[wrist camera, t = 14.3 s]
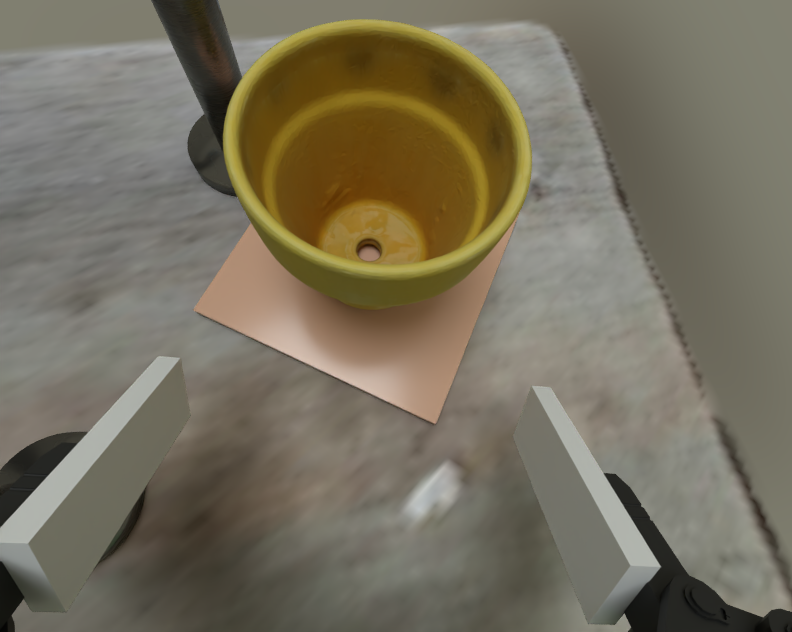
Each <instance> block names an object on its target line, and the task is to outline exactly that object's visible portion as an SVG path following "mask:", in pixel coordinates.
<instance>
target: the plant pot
mask: <svg viewBox="0 0 792 632" xmlns="http://www.w3.org/2000/svg"><path fill="white" fill-rule="evenodd" d="M223 151H224V158H225V164H226V168H227V171H228V175H229V178H230V180H231V183H232V186H233V188H234V191H235V193H236V195H237V197H238V199H239V201H240V203H241V205H242V207H243V209H244V210H245V212H246V214H247V216H248V218H249V220H250V221H251V223H252V225H253V227H254V228H255V230H256V232H257V233H258V235H259V236H260V238H261V240H262V241H263V243H264V244H265V246H266V247H267V248H268V250H269V251H270V252H271V254H272V255H273V256H274V257H275V259H276V260H277V261H278V262H279V263H280V264H281V265H282V266H283V267H284V268H285V269H286V270H287V271H288V272H289V273H290V274H292V275H293V276H294V277H295V278H297V279H298V280H300V281H301V282H303V283H304V284H306V285H307V286H309V287H311V288H312V289H314V290H316V291H318V292H320V293H322V294H325V295H327V296H329V297H332V298H335V299H338V300H339V301H341V302H342V303H344V304H346V305H349V306H352V307H355V308H359V309H365V310H379V309H386V308H390V307H393V306H401V305H407V304H412V303H417V302H420V301H424V300H427V299H430V298H432V297H435V296H437V295H439V294H441V293H443V292H445V291H447V290H449V289H451V288H452V287H454V286H455V285H457V284H458V283H460V282H461V281H462V280H463V279H465V278H466V277H467V276H468V275H469V274H470V273H471V272H472V271H473V270H474V269H475V268H476V267H477V266H478V265H479V264H480V263H481V262H482V261H483V260H484V259H485V258H486V256H487V255H488V254H489V253H490V252H491V251H492V250H493V248H494V247H495V246H496V245H497V243H498V242H499V241H500V240H501V238H502V237H503V236H504V234H505V233H506V232H507V230H508V229H509V228H510V226H511V225H512V224H513V222H514V220H515V219H516V217H517V215H518V214H519V212H520V210H521V208H522V206H523V203H524V201H525V198H526V195H527V192H528V188H529V184H530V179H531V170H532V150H531V143H530V138H529V133H528V129H527V126H526V122H525V120H524V117H523V115H522V112H521V110H520V108H519V106H518V104H517V102H516V100H515V99H514V97H513V96H512V94H511V93H510V91H509V89H508V88H507V87H506V86H505V84H504V83H503V82H502V80H501V79H500V78H499V77H498V76H497V75H496V74H495V73H494V71H493V70H492V69H491V68H490V67H489V66H487V65H486V64H485V63H484V62H483V61H482V60H480V59H479V58H478V57H476V56H475V55H473V54H472V53H471V52H469V51H468V50H466V49H465V48H463V47H461V46H460V45H458V44H456V43H454V42H452V41H451V40H449V39H447V38H445V37H442V36H440V35H438V34H436V33H433V32H430V31H428V30H425V29H422V28H419V27H415V26H412V25H408V24H404V23H398V22H391V21H384V20H365V19H362V20H345V21H337V22H333V23H327V24H322V25H318V26H315V27H311V28H309V29H306V30H303V31H300V32H298V33H296V34H293V35H291V36H290V37H288V38H286V39H284V40H282V41H281V42H279V43H277V44H276V45H274V46H273V47H272V48H271V49H269V50H268V51H267V52H266V53H264V54H263V55H262V56H261V57H260V58H259V59H258V60H257V61H256V62H255V63H254V64H253V65H252V67H251V68H250V69H249V70H248V71H247V72H246V73H245V75H244V76H243V78H242V79H241V81H240V82H239V84H238V85H237V87H236V89H235V91H234V93H233V96H232V98H231V100H230V103H229V106H228V109H227V113H226V117H225V122H224V130H223ZM364 244H373V245H375V246H376V247H377V248H378V249H379V251H380V257H379V258H378V259H377V260H374V261H365V260H363V259H361V258H360V257H359V256H358V249H359V248H360V247H361V246H362V245H364Z"/></svg>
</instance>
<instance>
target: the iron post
mask: <svg viewBox="0 0 792 632" xmlns="http://www.w3.org/2000/svg"><path fill="white" fill-rule="evenodd" d="M151 1H152V3H153V5H154V7H155V9H156V11H157V14H158V16H159V18H160V20H161V22H162V24H163V26H164V28H165V31H166V33H167V35H168V37H169V39H170V41H171V43H172V46H173V48H174V50H175V52H176V54H177V56H178V58H179V60H180V63H181V65H182V67H183V69H184V71H185V73H186V75H187V77H188V80H189V82H190V84H191V86H192V88H193V90H194V92H195V94H196V97H197V99H198V101H199V103H200V105H201V107H202V109H203V111H204V115H203V116H202V117H200V118H199V120H198V121H197V122H196V123H195V124H194V126H193V127H192V129H191V131H190V134H189V137H188V153H189V156H190V159H191V161H192V163H193V164H194V166H195V168H196V169H197V171H198V173H199V174H200V176H201V177H202V179H203V180H204V181H205V182H206V183H207V184H208V185H210V186H211V187H212V188H214V189H216V190H218V191H220V192H222V193H225V194H228V195H232V196H237V195H236V193H235V191H234V188H233V186H232V183H231V180H230V178H229V175H228V171H227V168H226V164H225V158H224V151H223V130H224V122H225V117H226V113H227V109H228V106H229V103H230V100H231V98H232V96H233V93H234V91H235V89H236V87H237V85H238V84H239V82H240V81H241V79H242V76H241V72H240V69H239V66H238V63H237V60H236V57H235V53H234V50H233V47H232V44H231V41H230V37H229V34H228V31H227V28H226V25H225V22H224V18H223V16H222V12H221V9H220V6H219V3H218V0H151Z"/></svg>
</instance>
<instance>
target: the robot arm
mask: <svg viewBox="0 0 792 632" xmlns="http://www.w3.org/2000/svg"><path fill="white" fill-rule="evenodd" d="M190 416H191V414H190V409H189V403H188V397H187V391H186V386H185V380H184V374H183V369H182V363H181V358H174V357H162V356H158V357H157V358H156V359H155V360H154V361H153V363H152V364H151V365H150V366H149V367H148V368H147V369H146V370H145V371H144V372H143V373H142V375H141V376H140V377H139V378H138V379H137V380H136V381H135V382H134V383H133V384H132V385H131V386H130V388H129V389H128V390H127V391H126V392H125V393H124V394H123V395H122V396H121V397H120V398H119V399H118V401H117V402H116V403H115V404H114V405H113V406H112V407H111V408H110V409H109V410H108V411H107V412H106V414H105V415H104V416H103V417H102V418H101V419H100V420H99V421H98V422H97V423H96V424H95V426H94V427H93V428H92V429H91V430H90V431H89V432H88V433H87V434H86V435H85V436H84V437H83V439H82V440H81V441H80V442H79V443H67V442H63V443H61V444H59V445H58V446H56V447H55V448H53V449H51V450H50V451H48V452H47V453H45V454H44V455H42V456H41V457H40V458H39V459H38V460H37V461H36V462H35V463H34V464H33V465H32V466H31V467H30V468H29V469H28V470H27V471H26V472H25V473H24V475H23V476H22V477H20V478H19V479H18V480H17V481H16V482H15V483H14V484H13V485H12V486H11V487H10V490H9V491H6V492H5V493H4V494H3V495H2V496H1V497H0V632H15V625H14V621H13V618H12V616H11V615H12V614H13V612H14V611H15V610H16V608H17V607H18V606H19V604H20V603H21V602H22V600H23V599H24V600H25V602H26V603H27V605H28V606H29V608H30V609H31V611H32V612H67V611H68V609H69V607H70V606H71V604H72V603H73V601H74V599H75V598H76V596H77V595H78V593H79V592H80V590H81V588H82V587H83V585H84V584H85V582H86V581H87V579H88V577H89V576H90V574H91V573H92V571H93V569H94V568H95V566H96V565H97V563H98V562H99V560H100V558H101V557H102V555H103V554H104V552H105V551H106V549H107V547H108V546H109V544H110V543H111V541H112V539H113V538H114V536H115V535H116V533H117V532H118V530H119V528H120V527H121V525H122V524H123V522H124V520H125V519H126V517H127V516H128V514H129V513H130V511H131V509H132V508H133V506H134V505H135V503H136V502H137V500H138V498H139V497H140V495H141V494H142V492H143V490H144V489H145V487H146V486H147V484H148V483H149V481H150V479H151V478H152V476H153V475H154V473H155V471H156V470H157V468H158V467H159V465H160V464H161V462H162V460H163V459H164V457H165V456H166V454H167V453H168V451H169V449H170V448H171V446H172V445H173V443H174V441H175V440H176V438H177V437H178V435H179V434H180V432H181V430H182V429H183V427H184V426H185V424H186V422H187V421H188V419H189V418H190ZM513 439H514V442H515V444H516V447H517V449H518V452H519V454H520V457H521V459H522V461H523V464H524V466H525V469H526V471H527V474H528V476H529V479H530V481H531V484H532V486H533V489H534V491H535V494H536V496H537V499H538V501H539V504H540V506H541V508H542V511H543V513H544V516H545V518H546V521H547V523H548V526H549V528H550V531H551V533H552V536H553V538H554V541H555V543H556V546H557V548H558V551H559V553H560V555H561V558H562V560H563V563H564V565H565V568H566V570H567V573H568V575H569V578H570V580H571V583H572V585H573V588H574V590H575V593H576V595H577V598H578V600H579V602H580V605H581V607H582V610H583V612H584V615H585V617H586V620H587V622H588V624H610V625H615V624H616V623H617V622H618V620H619V619H620V618H621V617H622V615H623V614H624V613H625V615H626V617H627V619H628V621H629V624H630V626H631V628H630V630H629V631H628V632H792V612H790V611H786V610H783V609H775V610H771V611H770V612H769V613H768V614H767V615H766V616H764V617H760V616H757V615H755V614H752V613H749V612H746V611H744V610H741V609H738V608H735V607H733V606H730V605H728V604H726V603H725V602H724V601H723V600H722V599H721V597H720V596H719V595H718V594H717V593H716V592H715V591H714V590H713V589H711V588H710V587H709V586H707V585H706V584H705V583H703V582H702V581H700V580H698V579H695V578H693V577H691V576H689V575H688V573H687V572H686V571H685V569H684V568H683V566H682V565H681V563H680V562H679V560H678V559H677V557H676V556H675V554H674V553H673V551H672V550H671V548H670V547H669V545H668V544H667V542H666V541H665V539H664V538H663V536H662V535H661V533H660V532H659V530H658V529H657V527H656V526H655V524H654V523H653V521H651V520H650V517H649V515H648V514H647V512H646V511H645V509H644V508H643V507H641V503H640V502H639V500H638V499H637V497H636V496H635V494H634V493H633V491H632V490H631V488H630V487H629V486H628V485H627V484H626V483H625V482H623V481H622V480H621V479H620V478H619V477H618V476H617V475H616V474H608V473H603V472H602V470H601V469H600V467H599V466H598V464H597V462H596V461H595V459H594V457H593V456H592V454H591V453H590V451H589V449H588V448H587V446H586V444H585V443H584V441H583V440H582V438H581V436H580V435H579V433H578V431H577V430H576V428H575V427H574V425H573V423H572V422H571V420H570V418H569V417H568V415H567V414H566V412H565V410H564V409H563V407H562V405H561V404H560V402H559V401H558V399H557V397H556V396H555V394H554V392H553V391H552V389H551V388H550V387H541V386H531V388H530V391H529V394H528V397H527V399H526V402H525V405H524V408H523V410H522V413H521V416H520V419H519V421H518V424H517V427H516V429H515V432H514V435H513Z"/></svg>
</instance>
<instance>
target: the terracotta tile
mask: <svg viewBox="0 0 792 632" xmlns="http://www.w3.org/2000/svg"><path fill="white" fill-rule="evenodd" d="M518 215H519V214H518ZM518 215H517V217H516V219H515V220H514V222H513V224H512V225H511V226H510V228H509V229H508V230H507V232H506V233H505V234H504V236H503V237H502V238H501V240H500V241H499V242H498V243H497V245H496V246H495V247H494V248H493V250H492V251H491V252H490V253H489V254H488V255H487V256H486V258H485V259H484V260H483V261H482V262H481V263H480V264H479V265H478V266H477V267H476V268H475V269H474V270H473V271H472V272H471V273H470V274H469V275H468V276H467V277H466V278H465V279H463V280H462V281H461V282H460V283H458V284H457V285H455V286H454V287H452V288H451V289H449V290H447V291H445V292H443V293H441V294H439V295H437V296H435V297H432V298H430V299H427V300H424V301H420V302H417V303H412V304H407V305H401V306H393V307H390V308H386V309H379V310H365V309H359V308H355V307H352V306H349V305H346V304H344V303H342V302H341V301H339V300H338V299H335V298H332V297H329V296H327V295H325V294H322V293H320V292H318V291H316V290H314V289H312V288H311V287H309V286H307V285H306V284H304V283H303V282H301V281H300V280H298V279H297V278H295V277H294V276H293V275H292V274H290V273H289V272H288V271H287V270H286V269H285V268H284V267H283V266H282V265H281V264H280V263H279V262H278V261H277V260H276V259H275V257H274V256H273V255H272V254H271V252H270V251H269V250H268V248H267V247H266V246H265V244H264V243H263V241H262V240H261V238H260V236H259V235H258V233H257V232H256V230H255V228H254V227H253V225H252V223H251V224H250V225H249V227H248V228H247V230H246V231H245V233H244V234H243V236H242V237H241V239H240V240H239V242H238V243H237V245H236V246H235V248H234V249H233V251H232V252H231V254H230V255H229V257H228V258H227V260H226V261H225V263H224V264H223V266H222V267H221V269H220V270H219V272H218V273H217V275H216V276H215V278H214V279H213V281H212V282H211V284H210V285H209V287H208V288H207V290H206V291H205V293H204V294H203V296H202V297H201V299H200V300H199V302H198V303H197V305H196V306H195V308H194V309H193V310H194V311H195V312H197V313H198V314H200V315H202V316H205V317H207V318H209V319H211V320H213V321H215V322H217V323H219V324H222V325H224V326H226V327H228V328H230V329H232V330H234V331H236V332H238V333H241V334H243V335H245V336H247V337H249V338H251V339H253V340H255V341H258V342H260V343H262V344H264V345H266V346H268V347H270V348H272V349H275V350H277V351H279V352H281V353H283V354H285V355H287V356H289V357H292V358H294V359H296V360H298V361H300V362H302V363H304V364H306V365H309V366H311V367H313V368H315V369H317V370H319V371H321V372H323V373H326V374H328V375H330V376H332V377H334V378H336V379H338V380H340V381H342V382H345V383H347V384H349V385H351V386H353V387H355V388H357V389H359V390H362V391H364V392H366V393H368V394H370V395H372V396H374V397H376V398H379V399H381V400H383V401H385V402H387V403H389V404H391V405H393V406H396V407H398V408H400V409H402V410H404V411H406V412H408V413H410V414H413V415H415V416H417V417H419V418H421V419H423V420H425V421H427V422H429V423H432V424H436V422H437V420H438V417H439V415H440V412H441V410H442V407H443V405H444V402H445V399H446V397H447V394H448V392H449V389H450V387H451V384H452V382H453V379H454V377H455V374H456V372H457V369H458V367H459V364H460V362H461V359H462V357H463V354H464V352H465V349H466V347H467V344H468V341H469V339H470V336H471V334H472V331H473V329H474V326H475V324H476V321H477V319H478V316H479V314H480V311H481V309H482V306H483V304H484V301H485V299H486V296H487V294H488V291H489V289H490V286H491V283H492V281H493V278H494V276H495V273H496V271H497V268H498V266H499V263H500V261H501V258H502V256H503V253H504V251H505V248H506V246H507V243H508V241H509V238H510V236H511V233H512V231H513V228H514V225H515V223H516V220H517V218H518ZM358 256H359V257H360V258H361V259H363V260H365V261H374V260H377V259H378V258H379V257H380V251H379V249H378V248H377V247H376V246H375V245H373V244H364V245H362V246H361V247H360V248H359V249H358Z"/></svg>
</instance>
